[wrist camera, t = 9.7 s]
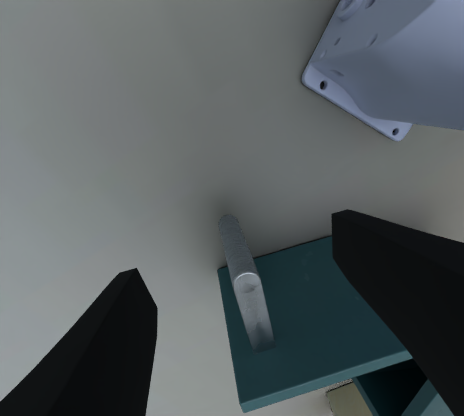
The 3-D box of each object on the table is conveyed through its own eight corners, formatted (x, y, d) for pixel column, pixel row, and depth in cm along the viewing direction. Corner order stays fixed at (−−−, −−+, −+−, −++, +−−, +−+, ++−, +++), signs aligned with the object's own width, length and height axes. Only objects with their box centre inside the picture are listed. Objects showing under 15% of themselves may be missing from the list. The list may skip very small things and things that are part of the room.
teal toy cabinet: (322, 327, 27) (392, 450, 18) (357, 233, 22) (482, 337, 13) (382, 322, 29) (476, 433, 19) (427, 233, 24) (586, 326, 14)
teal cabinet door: (196, 209, 18) (205, 325, 9) (351, 165, 19) (506, 233, 10) (219, 277, 21) (243, 414, 12) (350, 238, 22) (466, 341, 13)
